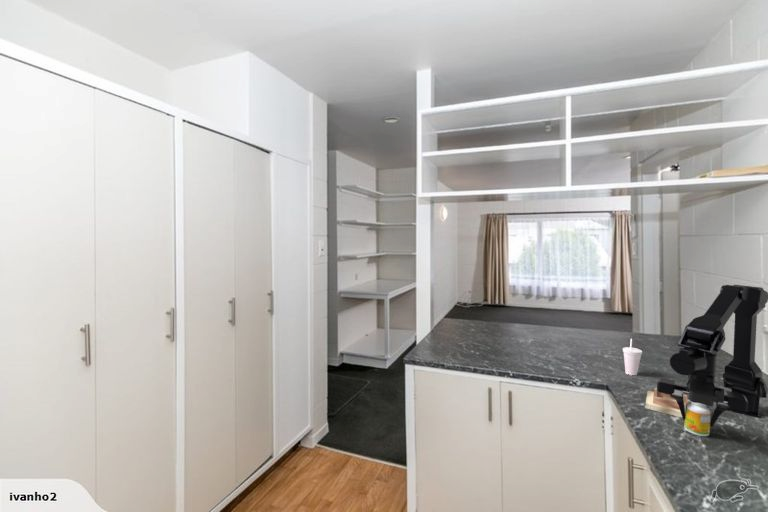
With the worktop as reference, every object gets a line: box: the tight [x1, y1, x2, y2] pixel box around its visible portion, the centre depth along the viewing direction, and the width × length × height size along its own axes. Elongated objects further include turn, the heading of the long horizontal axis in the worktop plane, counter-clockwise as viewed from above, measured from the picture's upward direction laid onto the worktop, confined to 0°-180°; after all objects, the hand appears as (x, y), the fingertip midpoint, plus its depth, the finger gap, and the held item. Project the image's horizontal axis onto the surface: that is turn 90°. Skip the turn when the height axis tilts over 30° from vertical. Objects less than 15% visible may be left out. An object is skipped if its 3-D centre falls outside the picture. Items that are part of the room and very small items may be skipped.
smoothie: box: [622, 338, 643, 376], centre depth 140 cm, size 6×6×14 cm
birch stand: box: [644, 387, 690, 418], centre depth 114 cm, size 12×12×4 cm
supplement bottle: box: [683, 401, 712, 437], centre depth 100 cm, size 5×5×10 cm
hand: (697, 422), depth 101 cm, fingers closed on supplement bottle, 5 cm apart
